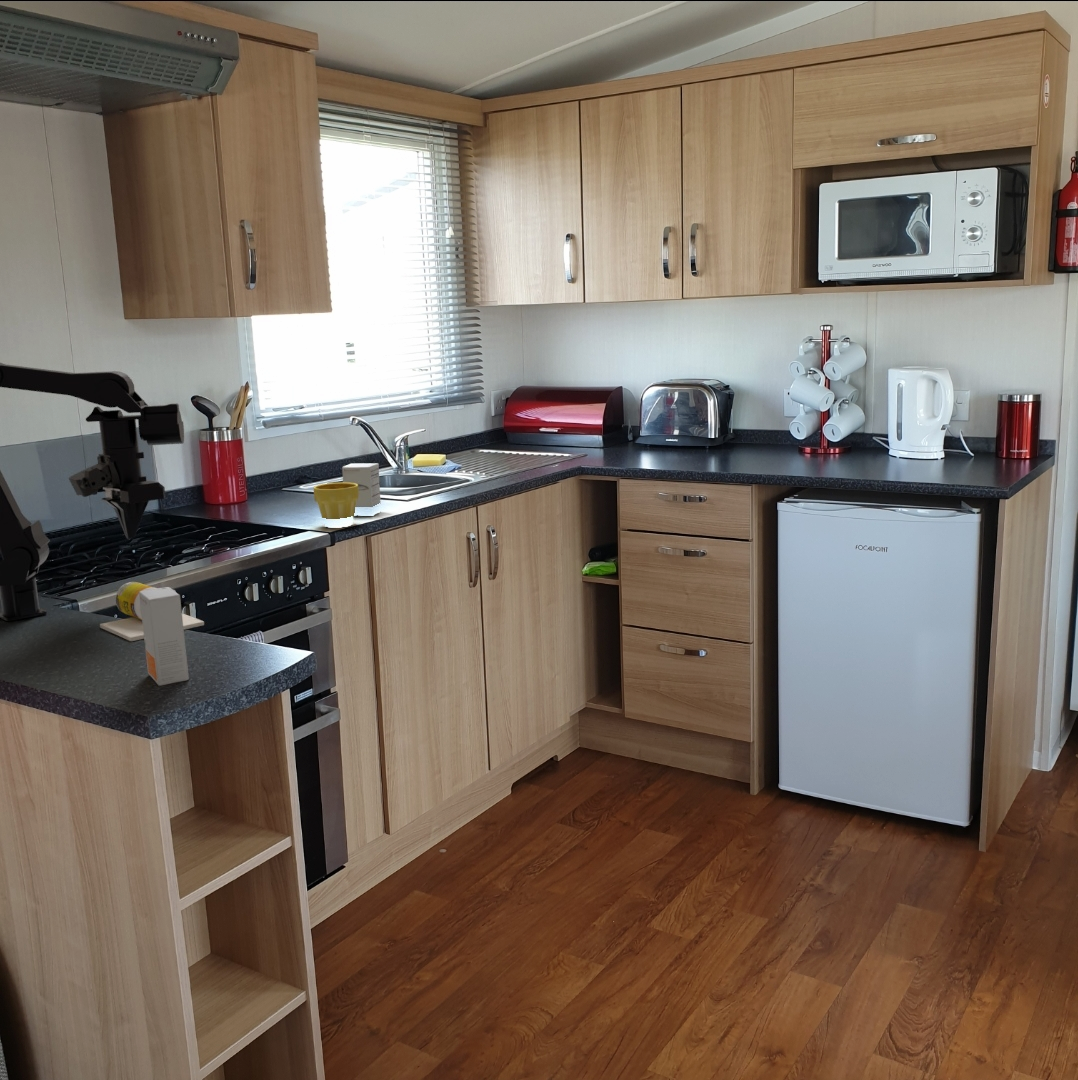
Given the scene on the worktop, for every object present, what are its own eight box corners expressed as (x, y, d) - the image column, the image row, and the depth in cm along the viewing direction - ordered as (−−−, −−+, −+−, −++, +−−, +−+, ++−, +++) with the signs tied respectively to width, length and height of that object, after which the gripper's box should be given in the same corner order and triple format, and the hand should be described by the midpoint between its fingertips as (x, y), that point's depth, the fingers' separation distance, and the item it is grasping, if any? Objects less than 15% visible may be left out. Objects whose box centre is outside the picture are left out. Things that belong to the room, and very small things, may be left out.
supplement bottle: (107, 596, 180) (134, 605, 173) (133, 574, 183) (161, 582, 175) (127, 621, 183) (155, 631, 176) (153, 598, 186) (181, 607, 178)
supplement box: (344, 517, 273) (340, 466, 271) (354, 512, 280) (351, 462, 278) (372, 517, 272) (369, 466, 269) (382, 512, 279) (379, 462, 277)
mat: (100, 627, 177) (100, 624, 177) (171, 612, 185) (171, 609, 185) (131, 641, 169) (130, 637, 169) (204, 625, 177) (203, 621, 177)
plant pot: (347, 531, 255) (344, 489, 253) (308, 529, 258) (305, 488, 256) (368, 522, 264) (365, 482, 262) (330, 521, 268) (327, 481, 266)
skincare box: (147, 675, 152) (137, 590, 149) (178, 669, 154) (170, 585, 151) (157, 686, 146) (148, 599, 144) (190, 680, 149) (181, 594, 146)
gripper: (51, 448, 187) (62, 539, 190) (93, 455, 173) (105, 553, 176) (116, 442, 194) (125, 529, 197) (161, 448, 180) (171, 541, 184)
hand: (130, 538), depth 188 cm, fingers closed
